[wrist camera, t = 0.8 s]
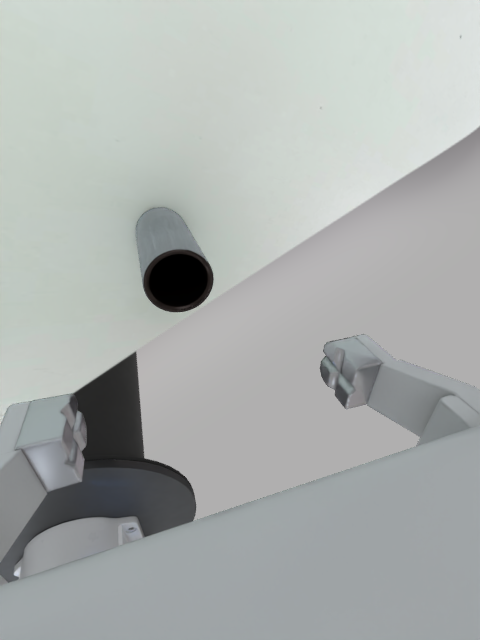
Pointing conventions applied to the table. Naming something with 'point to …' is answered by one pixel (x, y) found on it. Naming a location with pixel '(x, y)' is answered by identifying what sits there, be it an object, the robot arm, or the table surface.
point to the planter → (171, 262)
